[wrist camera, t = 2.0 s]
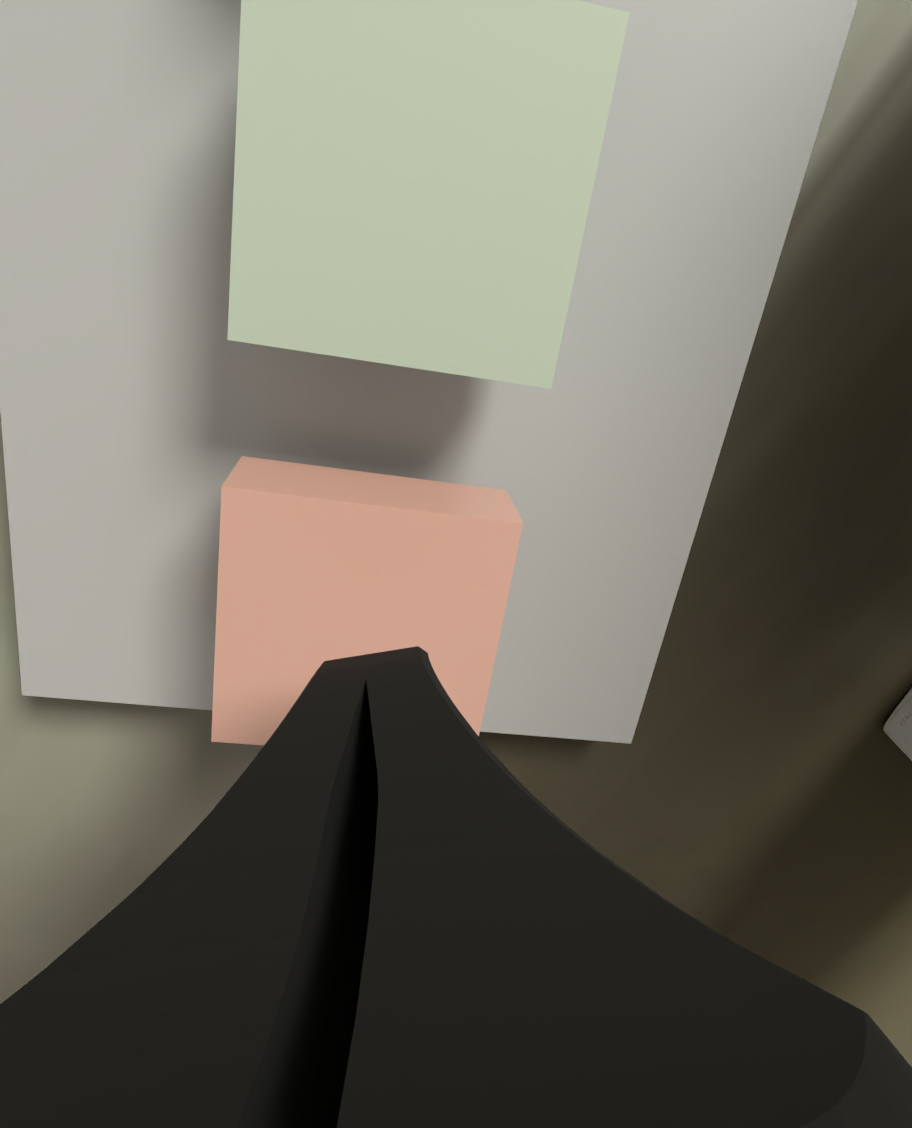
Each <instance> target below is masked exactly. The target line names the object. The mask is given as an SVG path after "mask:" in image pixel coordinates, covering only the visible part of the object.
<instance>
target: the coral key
mask: <svg viewBox="0 0 912 1128" xmlns="http://www.w3.org/2000/svg"><path fill="white" fill-rule="evenodd" d="M522 527H523V522H522V520H521V518H520V516H519V514H518V512H517V510H516V508H515V506H514V504H513V502H512V500H511V498H510V497H509V495H508V493H507V491H506V490H501V489H494V488H486V487H478V486H470V485H463V484H455V483H447V482H440V481H432V480H424V479H416V478H409V477H401V476H393V475H385V474H378V473H370V472H362V471H354V470H347V469H339V468H331V467H324V466H316V465H308V464H300V463H293V462H285V461H277V460H269V459H262V458H254V457H246V456H242V457H241V458H240V460H239V461H238V462H237V464H236V465H235V467H234V468H233V470H232V471H231V473H230V474H229V476H228V477H227V479H226V480H225V482H224V483H223V485H222V486H221V511H220V536H219V560H218V585H217V610H216V634H215V659H214V684H213V708H212V733H211V742H223V743H237V744H251V745H265V744H266V742H267V741H268V740H269V738H270V737H271V736H272V734H273V733H274V732H275V730H276V729H277V728H278V726H279V725H280V723H281V722H282V721H283V719H284V718H285V716H286V715H287V713H288V712H289V710H290V709H291V708H292V706H293V705H294V703H295V702H296V700H297V699H298V697H299V696H300V694H301V693H302V691H303V690H304V689H305V687H306V686H307V684H308V683H309V681H310V680H311V678H312V677H313V675H314V674H315V673H316V671H317V670H318V668H319V667H320V666H321V665H322V663H323V662H324V661H328V660H334V659H340V658H347V657H353V656H359V655H366V654H372V653H378V652H384V651H391V650H397V649H403V648H410V647H416V646H419V647H420V648H422V649H423V650H424V651H426V652H427V653H428V657H429V660H430V663H431V665H432V667H433V670H434V672H435V674H436V675H437V677H438V679H439V681H440V683H441V684H442V686H443V688H444V689H445V691H446V692H447V694H448V696H449V697H450V699H451V700H452V702H453V703H454V704H455V706H456V707H457V709H458V710H459V711H460V713H461V714H462V715H463V717H464V718H465V719H466V721H467V722H468V723H469V725H470V726H471V727H472V729H473V730H474V731H475V732H476V734H477V735H478V736H479V733H480V729H481V724H482V719H483V714H484V709H485V705H486V700H487V695H488V690H489V685H490V681H491V676H492V671H493V666H494V661H495V657H496V652H497V647H498V642H499V637H500V633H501V628H502V623H503V618H504V613H505V609H506V604H507V599H508V594H509V589H510V585H511V580H512V575H513V570H514V565H515V561H516V556H517V551H518V546H519V541H520V537H521V532H522Z"/></svg>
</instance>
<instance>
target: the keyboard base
mask: <svg viewBox="0 0 912 1128" xmlns="http://www.w3.org/2000/svg"><path fill="white" fill-rule="evenodd" d="M579 1H583V2H587V3H592V4H596V5H600V6H605V7H609V8H613V9H617V10H622V11H626V12H630V14H629V18H628V23H627V28H626V33H625V38H624V42H623V47H622V52H621V57H620V62H619V66H618V71H617V76H616V81H615V86H614V90H613V95H612V100H611V105H610V110H609V114H608V119H607V124H606V129H605V134H604V138H603V143H602V148H601V153H600V157H599V162H598V167H597V172H596V177H595V181H594V186H593V191H592V196H591V201H590V205H589V210H588V215H587V220H586V225H585V229H584V234H583V239H582V244H581V249H580V253H579V258H578V263H577V268H576V273H575V277H574V282H573V287H572V292H571V297H570V301H569V306H568V311H567V316H566V321H565V325H564V330H563V335H562V340H561V345H560V349H559V354H558V359H557V364H556V369H555V373H554V378H553V383H552V388H551V389H548V388H541V387H535V386H528V385H522V384H515V383H508V382H502V381H495V380H489V379H482V378H475V377H469V376H462V375H456V374H449V373H442V372H436V371H429V370H423V369H416V368H409V367H403V366H396V365H390V364H383V363H376V362H370V361H363V360H357V359H350V358H343V357H337V356H330V355H324V354H317V353H310V352H304V351H297V350H291V349H284V348H277V347H271V346H264V345H258V344H251V343H245V342H238V341H231V340H227V338H228V314H229V289H230V264H231V240H232V215H233V190H234V166H235V141H236V116H237V92H238V67H239V42H240V18H241V0H0V412H1V425H2V438H3V451H4V464H5V477H6V490H7V504H8V517H9V530H10V543H11V556H12V569H13V582H14V595H15V608H16V622H17V635H18V648H19V661H20V674H21V687H22V695H25V696H38V697H50V698H63V699H75V700H88V701H101V702H113V703H126V704H139V705H151V706H164V707H176V708H189V709H202V710H212V708H213V684H214V659H215V634H216V610H217V585H218V560H219V536H220V511H221V486H222V485H223V483H224V482H225V480H226V479H227V477H228V476H229V474H230V473H231V471H232V470H233V468H234V467H235V465H236V464H237V462H238V461H239V460H240V458H241V457H242V456H246V457H254V458H262V459H269V460H277V461H285V462H293V463H300V464H308V465H316V466H324V467H331V468H339V469H347V470H354V471H362V472H370V473H378V474H385V475H393V476H401V477H409V478H416V479H424V480H432V481H440V482H447V483H455V484H463V485H470V486H478V487H486V488H494V489H501V490H506V491H507V493H508V495H509V497H510V498H511V500H512V502H513V504H514V506H515V508H516V510H517V512H518V514H519V516H520V518H521V520H522V522H523V527H522V532H521V537H520V541H519V546H518V551H517V556H516V561H515V565H514V570H513V575H512V580H511V585H510V589H509V594H508V599H507V604H506V609H505V613H504V618H503V623H502V628H501V633H500V637H499V642H498V647H497V652H496V657H495V661H494V666H493V671H492V676H491V681H490V685H489V690H488V695H487V700H486V705H485V709H484V714H483V719H482V724H481V729H480V732H492V733H505V734H517V735H530V736H543V737H555V738H568V739H580V740H593V741H606V742H618V743H631V742H632V739H633V736H634V732H635V729H636V726H637V723H638V719H639V716H640V713H641V710H642V706H643V703H644V700H645V696H646V693H647V690H648V687H649V683H650V680H651V677H652V674H653V670H654V667H655V664H656V660H657V657H658V654H659V651H660V647H661V644H662V641H663V638H664V634H665V631H666V628H667V624H668V621H669V618H670V615H671V611H672V608H673V605H674V601H675V598H676V595H677V592H678V588H679V585H680V582H681V579H682V575H683V572H684V569H685V565H686V562H687V559H688V556H689V552H690V549H691V546H692V543H693V539H694V536H695V533H696V529H697V526H698V523H699V520H700V516H701V513H702V510H703V507H704V503H705V500H706V497H707V493H708V490H709V487H710V484H711V480H712V477H713V474H714V470H715V467H716V464H717V461H718V457H719V454H720V451H721V448H722V444H723V441H724V438H725V434H726V431H727V428H728V425H729V421H730V418H731V415H732V412H733V408H734V405H735V402H736V398H737V395H738V392H739V389H740V385H741V382H742V379H743V376H744V372H745V369H746V366H747V362H748V359H749V356H750V353H751V349H752V346H753V343H754V339H755V336H756V333H757V330H758V326H759V323H760V320H761V317H762V313H763V310H764V307H765V303H766V300H767V297H768V294H769V290H770V287H771V284H772V281H773V277H774V274H775V271H776V267H777V264H778V261H779V258H780V254H781V251H782V248H783V245H784V241H785V238H786V235H787V231H788V228H789V225H790V222H791V218H792V215H793V212H794V208H795V205H796V202H797V199H798V195H799V192H800V189H801V186H802V182H803V179H804V176H805V172H806V169H807V166H808V163H809V159H810V156H811V153H812V150H813V146H814V143H815V140H816V136H817V133H818V130H819V127H820V123H821V120H822V117H823V114H824V110H825V107H826V104H827V100H828V97H829V94H830V91H831V87H832V84H833V81H834V77H835V74H836V71H837V68H838V64H839V61H840V58H841V55H842V51H843V48H844V45H845V41H846V38H847V35H848V32H849V28H850V25H851V22H852V19H853V15H854V12H855V9H856V5H857V2H858V0H579Z"/></svg>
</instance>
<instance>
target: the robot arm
mask: <svg viewBox="0 0 912 1128" xmlns="http://www.w3.org/2000/svg"><path fill="white" fill-rule="evenodd" d="M0 1128H912V1067H911V1066H910V1065H909V1064H908V1062H907V1061H906V1060H905V1059H904V1058H903V1056H902V1055H901V1054H900V1053H899V1051H898V1050H897V1049H896V1048H895V1047H894V1045H893V1044H892V1043H891V1042H890V1040H889V1039H888V1038H887V1037H886V1035H885V1034H884V1033H883V1032H882V1031H881V1029H880V1028H879V1027H878V1026H877V1025H876V1023H875V1022H874V1021H873V1020H872V1019H871V1017H870V1016H869V1015H868V1014H867V1013H865V1012H864V1011H862V1010H860V1009H858V1008H856V1007H855V1006H853V1005H851V1004H849V1003H847V1002H845V1001H843V1000H841V999H839V998H837V997H836V996H834V995H832V994H830V993H828V992H826V991H824V990H822V989H820V988H819V987H817V986H815V985H813V984H811V983H809V982H807V981H805V980H803V979H801V978H800V977H798V976H796V975H794V974H792V973H790V972H788V971H786V970H784V969H783V968H781V967H779V966H777V965H775V964H773V963H771V962H769V961H767V960H766V959H764V958H762V957H760V956H758V955H756V954H754V953H752V952H750V951H748V950H747V949H745V948H743V947H741V946H739V945H737V944H735V943H734V942H732V941H730V940H728V939H727V938H725V937H724V936H722V935H720V934H719V933H717V932H715V931H714V930H712V929H711V928H709V927H707V926H706V925H704V924H703V923H701V922H699V921H698V920H696V919H695V918H693V917H691V916H690V915H688V914H687V913H685V912H683V911H682V910H680V909H679V908H677V907H675V906H674V905H673V904H671V903H670V902H668V901H667V900H666V899H664V898H663V897H661V896H660V895H659V894H657V893H656V892H654V891H653V890H651V889H650V888H649V887H647V886H646V885H644V884H643V883H642V882H640V881H639V880H637V879H636V878H635V877H633V876H632V875H630V874H629V873H628V872H626V871H625V870H623V869H622V868H621V867H619V866H618V865H616V864H615V863H614V862H612V861H611V860H609V859H608V858H607V857H605V856H604V855H602V854H601V853H600V852H598V851H597V850H596V849H595V848H593V847H592V846H591V845H590V844H588V843H587V842H586V841H585V840H584V839H582V838H581V837H580V836H579V835H578V834H576V833H575V832H574V831H573V830H572V829H570V828H569V827H568V826H567V825H565V824H564V823H563V822H562V821H561V820H560V819H559V818H557V817H556V816H555V815H554V814H553V813H552V812H551V811H550V810H549V809H547V808H546V807H545V806H544V805H543V804H542V803H541V802H540V801H539V800H538V799H536V798H535V797H534V796H533V795H532V794H531V793H530V792H529V791H528V790H527V789H526V788H525V787H524V786H523V785H522V784H521V783H520V782H519V781H518V780H517V779H516V778H515V777H514V776H513V775H512V774H511V773H510V772H509V770H508V769H507V768H506V767H505V766H504V765H503V764H502V763H501V762H500V760H499V759H498V758H497V757H496V756H495V755H494V754H493V753H492V752H491V751H490V749H489V748H488V747H487V746H486V745H485V743H484V742H483V741H482V740H481V739H480V737H479V736H478V735H477V734H476V732H475V731H474V730H473V729H472V727H471V726H470V725H469V723H468V722H467V721H466V719H465V718H464V717H463V715H462V714H461V713H460V711H459V710H458V709H457V707H456V706H455V704H454V703H453V702H452V700H451V699H450V697H449V696H448V694H447V692H446V691H445V689H444V688H443V686H442V684H441V683H440V681H439V679H438V677H437V675H436V674H435V672H434V670H433V667H432V665H431V663H430V660H429V657H428V653H427V652H426V651H424V650H423V649H422V648H420V647H419V646H416V647H410V648H403V649H397V650H391V651H384V652H378V653H372V654H366V655H359V656H353V657H347V658H340V659H334V660H328V661H324V662H323V663H322V665H321V666H320V667H319V668H318V670H317V671H316V673H315V674H314V675H313V677H312V678H311V680H310V681H309V683H308V684H307V686H306V687H305V689H304V690H303V691H302V693H301V694H300V696H299V697H298V699H297V700H296V702H295V703H294V705H293V706H292V708H291V709H290V710H289V712H288V713H287V715H286V716H285V718H284V719H283V721H282V722H281V723H280V725H279V726H278V728H277V729H276V730H275V732H274V733H273V734H272V736H271V737H270V738H269V740H268V741H267V742H266V744H265V745H264V747H263V748H262V749H261V751H260V752H259V753H258V755H257V756H256V757H255V759H254V760H253V761H252V763H251V764H250V765H249V767H248V768H247V769H246V770H245V772H244V773H243V774H242V775H241V776H240V778H239V779H238V780H237V781H236V783H235V784H234V785H233V786H232V787H231V789H230V790H229V791H228V792H227V793H226V795H225V796H224V797H223V798H222V799H221V801H220V802H219V803H218V804H217V805H216V807H215V808H214V809H213V810H212V811H211V813H210V814H209V815H208V816H207V817H206V818H205V819H204V820H203V822H202V823H201V824H200V825H199V826H198V827H197V828H196V829H195V830H194V831H193V832H192V833H191V835H190V836H189V837H188V838H187V839H186V840H185V841H184V842H183V843H182V844H181V845H180V846H179V847H178V848H177V849H176V850H175V851H174V852H173V853H172V854H171V855H170V856H169V857H168V858H167V859H166V860H165V861H164V862H163V863H162V864H161V865H160V866H159V867H158V868H157V869H156V870H155V871H154V872H153V873H152V874H151V875H150V876H149V877H148V878H147V879H146V880H145V881H144V882H143V883H142V884H141V885H140V886H139V887H138V888H137V889H136V890H134V891H133V892H132V893H131V894H130V895H129V896H128V897H127V898H126V899H125V900H124V901H122V902H121V903H120V904H119V905H118V906H117V907H116V908H114V909H113V910H112V911H111V912H110V913H109V914H107V915H106V916H105V917H104V918H103V919H102V920H101V921H99V922H98V923H97V924H96V925H95V926H94V927H93V928H91V929H90V930H89V931H88V932H87V933H86V934H85V935H83V936H82V937H81V938H80V939H79V940H78V941H77V942H75V943H74V944H73V945H72V946H71V947H70V948H69V949H67V950H66V951H65V952H64V953H63V954H62V955H60V956H59V957H58V958H57V959H56V960H55V961H54V962H52V963H51V964H50V965H49V966H48V967H47V968H45V969H44V970H43V971H42V972H41V973H39V974H38V975H37V976H36V977H34V978H33V979H32V980H31V981H29V982H28V983H27V984H26V985H24V986H23V987H22V988H21V989H19V990H18V991H17V992H16V993H14V994H13V995H12V996H10V997H9V998H8V999H7V1000H5V1001H4V1002H3V1003H2V1004H0Z"/></svg>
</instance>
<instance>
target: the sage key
mask: <svg viewBox="0 0 912 1128" xmlns="http://www.w3.org/2000/svg"><path fill="white" fill-rule="evenodd" d="M629 14H630V12H626V11H622V10H617V9H613V8H609V7H605V6H600V5H596V4H592V3H587V2H583V1H579V0H241V18H240V42H239V67H238V92H237V116H236V141H235V166H234V190H233V215H232V240H231V264H230V289H229V314H228V338H227V340H231V341H238V342H245V343H251V344H258V345H264V346H271V347H277V348H284V349H291V350H297V351H304V352H310V353H317V354H324V355H330V356H337V357H343V358H350V359H357V360H363V361H370V362H376V363H383V364H390V365H396V366H403V367H409V368H416V369H423V370H429V371H436V372H442V373H449V374H456V375H462V376H469V377H475V378H482V379H489V380H495V381H502V382H508V383H515V384H522V385H528V386H535V387H541V388H548V389H551V388H552V383H553V378H554V373H555V369H556V364H557V359H558V354H559V349H560V345H561V340H562V335H563V330H564V325H565V321H566V316H567V311H568V306H569V301H570V297H571V292H572V287H573V282H574V277H575V273H576V268H577V263H578V258H579V253H580V249H581V244H582V239H583V234H584V229H585V225H586V220H587V215H588V210H589V205H590V201H591V196H592V191H593V186H594V181H595V177H596V172H597V167H598V162H599V157H600V153H601V148H602V143H603V138H604V134H605V129H606V124H607V119H608V114H609V110H610V105H611V100H612V95H613V90H614V86H615V81H616V76H617V71H618V66H619V62H620V57H621V52H622V47H623V42H624V38H625V33H626V28H627V23H628V18H629Z"/></svg>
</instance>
